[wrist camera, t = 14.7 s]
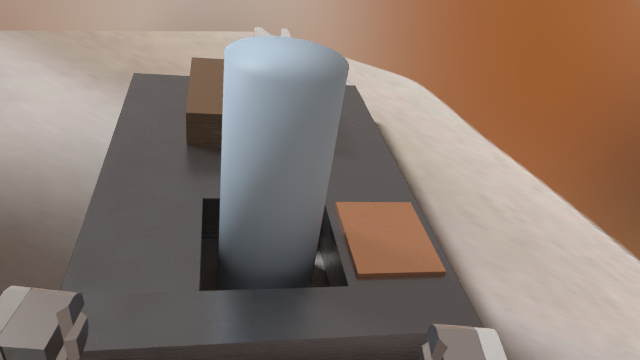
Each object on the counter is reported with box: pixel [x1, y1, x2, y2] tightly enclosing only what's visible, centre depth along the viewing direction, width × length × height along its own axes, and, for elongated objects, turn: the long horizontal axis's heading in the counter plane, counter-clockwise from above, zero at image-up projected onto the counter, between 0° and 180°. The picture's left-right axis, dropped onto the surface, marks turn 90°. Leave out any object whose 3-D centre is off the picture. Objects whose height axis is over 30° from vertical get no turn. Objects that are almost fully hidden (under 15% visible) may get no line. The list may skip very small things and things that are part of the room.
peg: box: [218, 36, 349, 290], centre depth 21 cm, size 4×4×11 cm
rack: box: [60, 57, 484, 360], centre depth 27 cm, size 16×23×4 cm
